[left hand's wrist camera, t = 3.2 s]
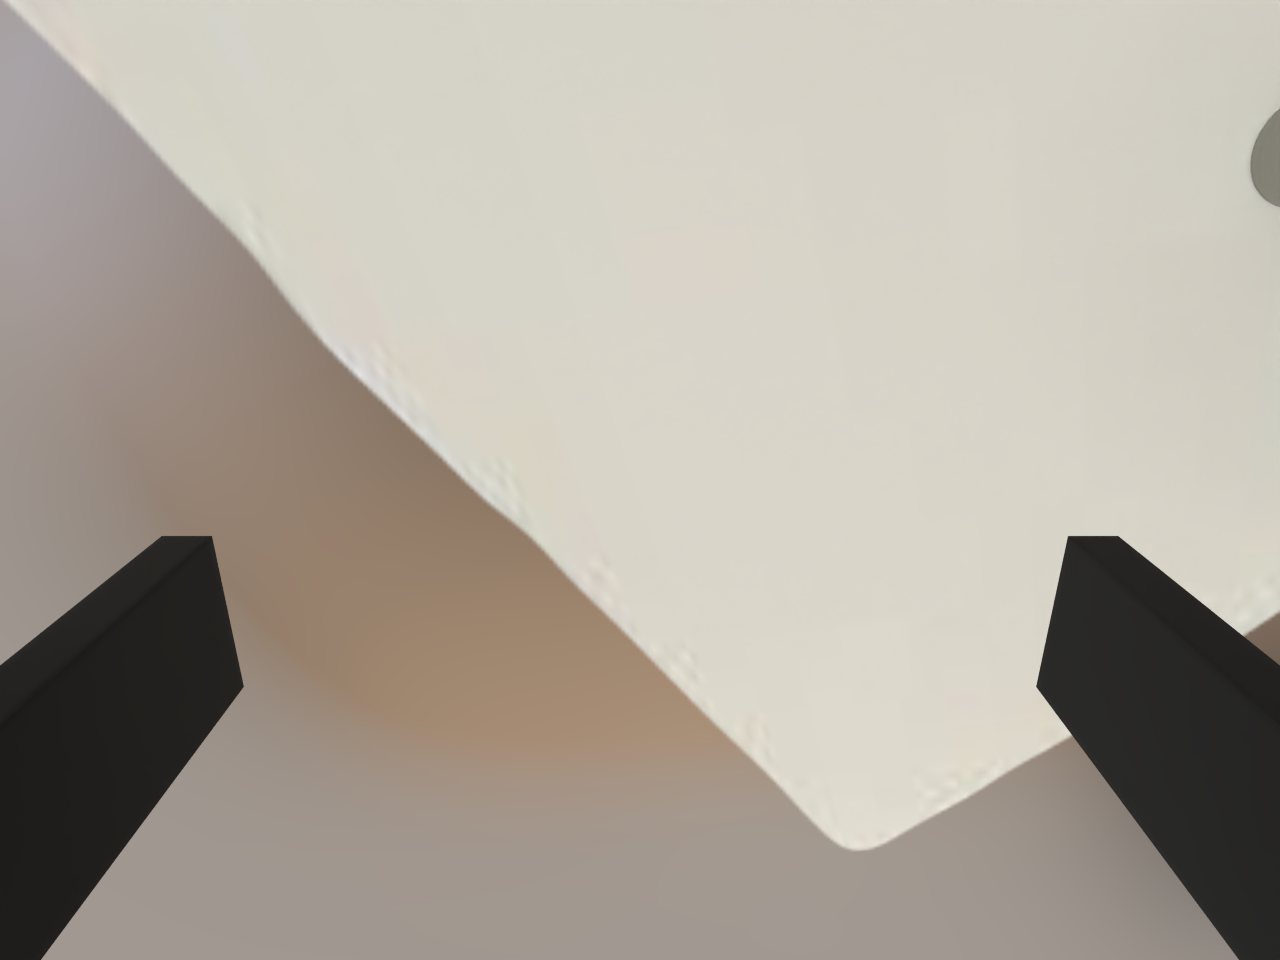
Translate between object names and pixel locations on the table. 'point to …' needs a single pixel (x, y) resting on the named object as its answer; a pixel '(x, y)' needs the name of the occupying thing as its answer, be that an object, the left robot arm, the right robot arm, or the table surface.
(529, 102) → the table surface
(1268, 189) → the bottle
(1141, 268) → the table surface
